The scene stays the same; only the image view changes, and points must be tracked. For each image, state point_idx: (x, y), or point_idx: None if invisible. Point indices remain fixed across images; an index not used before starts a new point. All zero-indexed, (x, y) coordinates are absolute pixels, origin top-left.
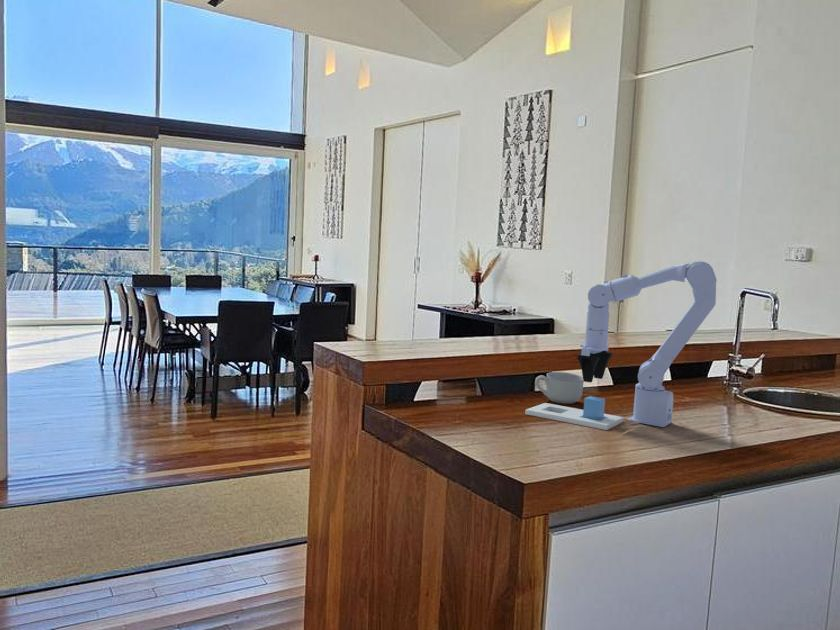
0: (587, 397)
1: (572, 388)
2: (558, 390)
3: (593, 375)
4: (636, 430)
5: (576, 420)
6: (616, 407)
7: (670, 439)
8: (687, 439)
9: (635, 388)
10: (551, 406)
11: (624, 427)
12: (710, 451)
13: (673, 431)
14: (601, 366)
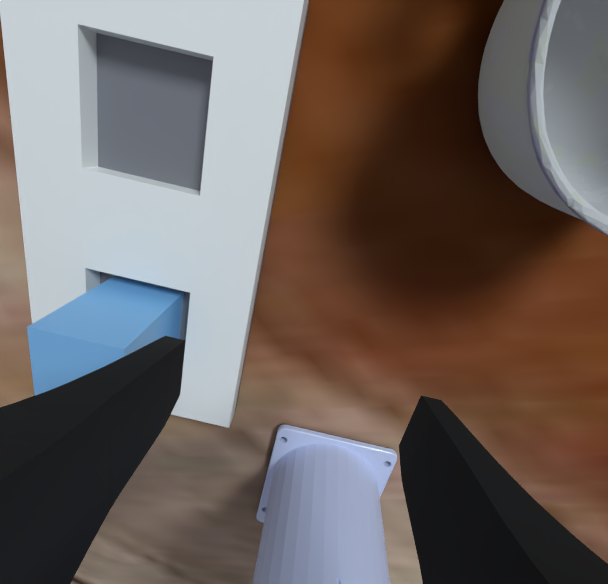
0: (68, 339)
1: (517, 161)
2: (500, 34)
3: (141, 450)
4: (161, 448)
5: (29, 263)
6: (557, 373)
7: (126, 520)
8: (162, 552)
9: (305, 582)
10: (216, 68)
11: (174, 415)
12: (83, 580)
13: (233, 531)
14: (439, 556)
